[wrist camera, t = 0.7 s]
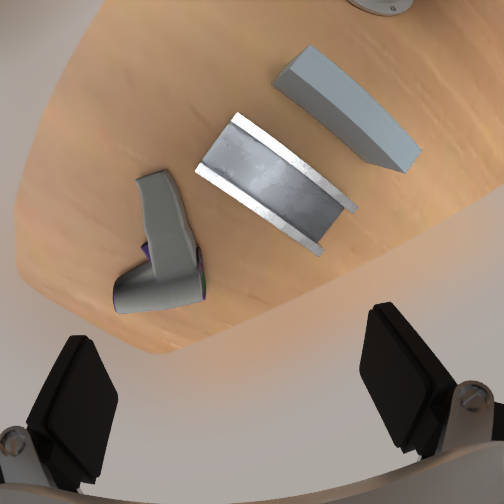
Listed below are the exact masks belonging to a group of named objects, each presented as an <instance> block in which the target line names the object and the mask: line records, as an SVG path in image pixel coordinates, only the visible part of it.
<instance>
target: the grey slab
mask: <svg viewBox="0 0 504 504" xmlns="http://www.w3.org/2000/svg"><path fill="white" fill-rule="evenodd" d="M271 85H272V86H274V87H275V88H276V89H278V90H279V91H280V92H282V93H283V94H284V95H286V96H287V97H288V98H290V99H291V100H292V101H294V102H295V103H296V104H298V105H299V106H300V107H301V108H303V109H304V110H305V111H306V112H308V113H309V114H310V115H311V116H313V117H314V118H315V119H316V120H318V121H319V122H320V123H321V124H322V125H324V126H325V127H326V128H327V129H328V130H330V131H331V132H332V133H333V134H334V135H335V136H337V137H338V138H339V139H340V140H341V141H342V142H343V143H345V144H346V145H347V146H348V147H349V148H350V149H351V150H352V151H353V152H355V153H356V154H357V155H358V156H359V157H360V158H361V159H362V160H363V161H364V162H367V163H370V164H374V165H378V166H381V167H385V168H388V169H392V170H395V171H398V172H402V173H405V174H406V172H407V171H408V170H409V168H410V167H411V165H412V164H413V163H414V161H415V160H416V158H417V157H418V155H419V154H420V152H421V151H422V150H421V149H420V147H419V146H418V145H417V144H416V143H415V142H414V140H413V139H412V138H411V137H410V136H409V135H408V134H407V133H406V132H405V130H404V129H403V128H402V127H401V126H400V125H399V124H398V123H397V122H396V121H395V120H394V119H393V118H392V117H391V116H390V115H389V114H388V113H387V111H386V110H385V109H384V108H383V107H382V106H381V105H380V104H379V103H377V102H376V101H375V100H374V99H373V98H372V97H371V96H370V95H369V94H368V93H367V92H366V91H365V90H364V89H363V88H362V87H361V86H360V85H358V84H357V83H356V82H355V81H354V80H353V79H352V78H351V77H350V76H348V75H347V74H346V73H345V72H344V71H343V70H341V69H340V68H339V67H338V66H337V65H336V64H334V63H333V62H332V61H331V60H330V59H328V58H327V57H326V56H325V55H323V54H322V53H321V52H320V51H318V50H317V49H316V48H314V47H313V46H312V45H311V44H310V45H309V46H308V47H306V48H305V49H304V50H303V51H302V52H301V53H300V54H299V55H297V56H296V57H295V58H294V59H293V60H292V61H291V62H290V63H288V64H287V65H286V67H285V68H284V69H283V70H282V71H281V73H280V74H279V75H278V76H277V77H276V79H275V80H274V81H273V82H272V84H271Z"/></svg>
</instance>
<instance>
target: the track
mask: <svg viewBox="0 0 504 504" xmlns="http://www.w3.org/2000/svg"><path fill="white" fill-rule="evenodd" d="M195 172H196V173H198V174H199V175H201V176H202V177H204V178H205V179H207V180H208V181H210V182H211V183H213V184H214V185H216V186H217V187H219V188H220V189H222V190H223V191H225V192H226V193H228V194H229V195H231V196H232V197H234V198H235V199H237V200H238V201H239V202H241V203H242V204H244V205H245V206H247V207H248V208H250V209H251V210H253V211H254V212H256V213H257V214H258V215H260V216H261V217H263V218H264V219H266V220H267V221H269V222H270V223H271V224H273V225H274V226H276V227H277V228H279V229H280V230H282V231H283V232H284V233H286V234H287V235H289V236H290V237H291V238H293V239H294V240H296V241H297V242H299V243H300V244H301V245H303V246H304V247H306V248H307V249H308V250H310V251H311V252H313V253H314V254H315V255H317V256H318V257H319V256H320V255H321V254H322V253H323V251H324V249H323V247H322V246H321V245H320V244H319V243H318V241H319V240H320V239H321V238H322V236H323V235H324V234H325V233H326V231H327V230H328V229H329V227H330V226H331V225H332V224H333V222H334V221H335V220H336V219H337V217H338V216H339V215H340V213H341V212H342V211H343V209H346V210H347V211H349V212H350V213H352V214H353V213H354V212H355V211H356V209H357V208H358V206H357V205H356V204H354V203H353V202H352V201H351V200H350V199H349V198H348V197H346V196H345V195H344V194H343V193H342V192H341V191H339V190H338V189H337V188H336V187H335V186H333V185H332V184H331V183H330V182H329V181H327V180H326V179H325V178H324V177H323V176H321V175H320V174H319V173H318V172H316V171H315V170H314V169H313V168H311V167H310V166H309V165H308V164H306V163H305V162H304V161H303V160H301V159H300V158H299V157H298V156H296V155H295V154H294V153H292V152H291V151H290V150H288V149H287V148H286V147H284V146H283V145H282V144H281V143H279V142H278V141H277V140H275V139H274V138H272V137H271V136H270V135H268V134H267V133H266V132H264V131H263V130H262V129H260V128H259V127H257V126H256V125H255V124H253V123H252V122H250V121H249V120H248V119H246V118H245V117H243V116H242V115H240V114H239V113H236V114H235V116H234V117H233V118H232V119H231V121H230V122H229V123H228V125H227V126H226V127H225V129H224V130H223V132H222V133H221V134H220V136H219V137H218V138H217V140H216V141H215V143H214V144H213V145H212V147H211V148H210V149H209V151H208V152H207V154H206V155H205V157H204V158H203V159H202V161H201V162H200V164H199V165H198V167H197V168H196V170H195Z"/></svg>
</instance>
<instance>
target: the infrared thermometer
mask: <svg viewBox="0 0 504 504" xmlns="http://www.w3.org/2000/svg"><path fill="white" fill-rule="evenodd" d="M135 182H136V184H137V186H138V188H139V191H140V195H141V202H142V212H143V225H144V230H145V234H146V237H147V240H148V241H147V242H145V243H144V244H143V245H142V246H141V249H142V250H143V252H144V253H145V255H146V256H147V258H148V260H149V261H148V262H146V263H144V264H143V265H141V266H139V267H137V268H135V269H133V270H131V271H130V272H128V273H126V274H124V275H122V276H120V277H119V278H117V280H116V281H115V284H114V288H113V304H114V308H115V311H116V312H117V313H118V314H126V313H136V312H145V311H156V310H167V309H172V308H176V307H180V306H184V305H189V304H193V303H197V302H201V301H203V300H205V298H206V284H205V276H204V269H203V262H202V255H201V251H200V248H199V247H197V246H196V243H195V239H194V236H193V233H192V231H191V229H190V227H189V225H188V223H187V217H186V213H185V210H184V206H183V203H182V199H181V196H180V193H179V190H178V188H177V185H176V183H175V181H174V179H173V177H172V176H171V174H170V173H169V171H168V170H167V169H166V170H162V171H159V172H156V173H153V174H150V175H147V176H144V177H141V178H138V179H135Z"/></svg>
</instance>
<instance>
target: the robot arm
mask: <svg viewBox="0 0 504 504" xmlns="http://www.w3.org/2000/svg"><path fill="white" fill-rule="evenodd" d="M348 1H349V2H350V3H352V4H353V5H355V6H356V7H358V8H360V9H362V10H364V11H367V12H370V13H373V14H376V15H381V16H393V15H398V14H400V13H402V12H404V11H406V10H407V9H409V8H410V6H411V5H412V4H413V1H414V0H348ZM359 371H360V375H361V378H362V380H363V382H364V384H365V385H366V388H367V389H368V392H369V394H370V395H371V398H372V400H373V402H374V403H375V406H376V408H377V410H378V412H379V414H380V416H381V418H382V420H383V422H384V424H385V426H386V428H387V430H388V432H389V434H390V436H391V438H392V440H393V443H394V445H395V446H396V447H397V448H399V447H400V448H401V450H402V452H403V454H405V453H407V452H410V451H412V450H415V449H416V451H417V453H418V455H419V457H418V460H417V462H416V463H413V464H411V465H408V466H405V467H402V468H400V469H397V470H394V471H391V472H388V473H385V474H382V475H379V476H375V477H372V478H369V479H366V480H362V481H359V482H355V483H352V484H348V485H345V486H340V487H337V488H332V489H328V490H324V491H319V492H315V493H309V494H304V495H299V496H294V497H287V498H280V499H273V500H266V501H256V502H246V503H235V504H504V404H501V403H497V402H494V396H493V394H492V392H491V390H490V389H489V388H488V387H487V386H486V385H484V384H483V383H481V382H478V381H465V382H462V383H460V384H459V385H457V383H456V382H455V381H454V379H453V378H452V376H451V375H450V374H449V372H448V371H447V370H446V368H445V367H444V366H443V365H442V363H441V362H440V361H439V359H438V358H437V357H436V356H435V354H434V353H433V352H432V351H431V349H430V348H429V347H428V346H427V344H426V343H425V342H424V341H423V339H422V338H421V337H420V336H419V335H418V333H417V332H416V331H415V330H414V328H413V327H412V326H411V325H410V323H409V322H408V321H407V320H406V319H405V318H404V316H403V315H402V314H401V313H400V312H399V311H398V309H397V308H396V307H395V306H394V305H393V303H391V302H386V303H380V304H376V305H374V307H373V309H372V310H370V311H369V313H368V320H367V326H366V333H365V339H364V345H363V350H362V356H361V361H360V367H359ZM117 403H118V394H117V391H116V389H115V387H114V386H113V383H112V381H111V379H110V378H109V375H108V373H107V371H106V369H105V367H104V365H103V363H102V361H101V359H100V356H99V354H98V352H97V349H96V347H95V345H94V343H93V341H92V340H90V339H89V338H88V337H87V336H85V335H73V336H70V337H69V339H68V340H67V342H66V344H65V345H64V347H63V349H62V351H61V353H60V354H59V356H58V358H57V360H56V362H55V364H54V365H53V367H52V369H51V371H50V373H49V375H48V377H47V379H46V381H45V383H44V385H43V387H42V389H41V391H40V393H39V395H38V397H37V399H36V401H35V403H34V405H33V407H32V409H31V412H30V414H29V416H28V418H27V420H26V423H27V425H28V426H27V429H25V428H24V427H21V426H12V427H9V428H7V429H5V430H4V431H3V432H2V433H1V434H0V504H153V503H141V502H131V501H123V500H115V499H109V498H102V497H96V496H90V495H84V494H83V492H82V491H81V489H80V482H83V483H89V484H95V481H96V477H99V476H100V474H101V469H102V465H103V460H104V455H105V451H106V447H107V442H108V438H109V434H110V430H111V426H112V422H113V418H114V415H115V410H116V407H117ZM154 504H155V503H154ZM233 504H234V503H233Z"/></svg>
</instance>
